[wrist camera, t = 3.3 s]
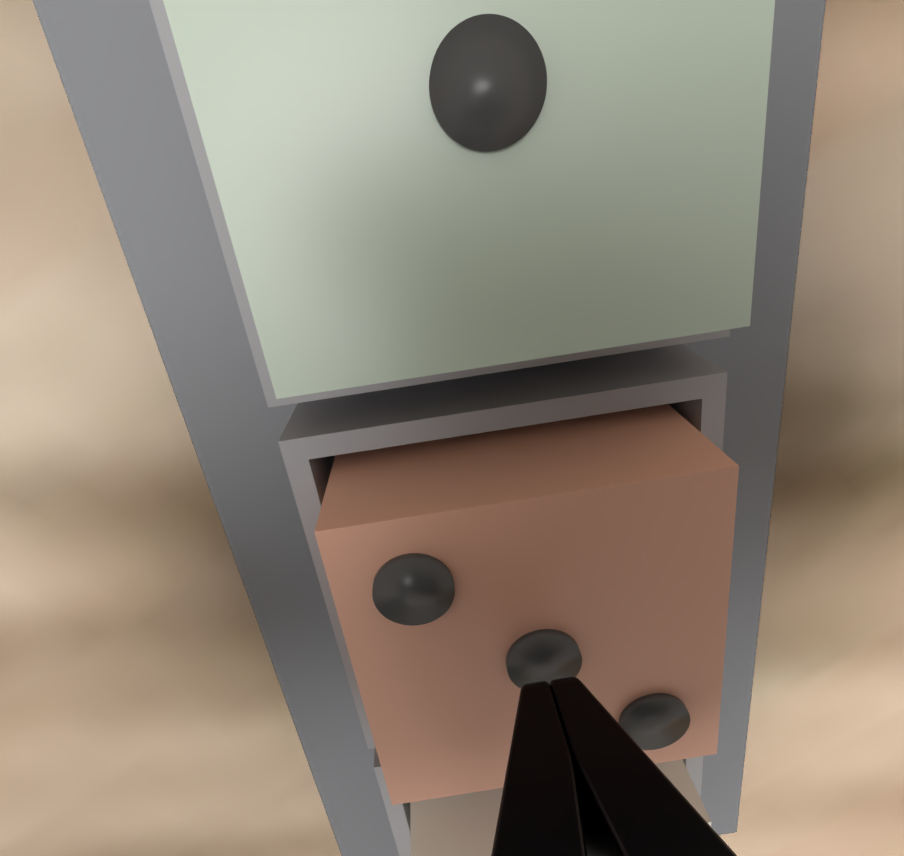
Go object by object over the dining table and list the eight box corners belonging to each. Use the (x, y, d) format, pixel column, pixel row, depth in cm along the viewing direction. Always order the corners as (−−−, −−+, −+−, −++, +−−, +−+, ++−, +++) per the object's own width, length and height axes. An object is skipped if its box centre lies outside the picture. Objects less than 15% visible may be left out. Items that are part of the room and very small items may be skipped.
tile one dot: (667, 290, 9) (756, 328, 7) (309, 345, 9) (273, 403, 7) (675, -200, 7) (816, -402, 5) (191, -127, 7) (73, -293, 5)
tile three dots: (661, 650, 13) (721, 761, 10) (395, 692, 13) (391, 813, 10) (665, 401, 10) (744, 470, 8) (336, 453, 10) (313, 537, 8)
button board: (713, 785, 19) (773, 907, 16) (359, 840, 19) (349, 975, 16) (791, -249, 9) (1006, -493, 6) (31, -137, 9) (-183, -316, 6)
